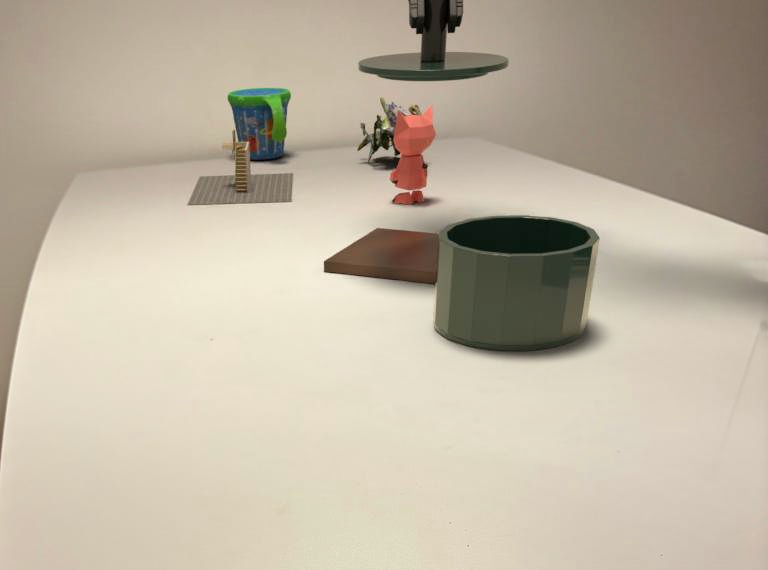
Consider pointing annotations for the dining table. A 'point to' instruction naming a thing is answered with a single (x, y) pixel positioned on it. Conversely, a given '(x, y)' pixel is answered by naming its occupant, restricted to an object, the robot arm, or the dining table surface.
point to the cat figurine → (412, 154)
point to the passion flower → (385, 128)
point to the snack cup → (261, 120)
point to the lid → (433, 55)
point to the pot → (514, 281)
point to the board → (389, 256)
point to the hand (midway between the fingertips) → (436, 26)
